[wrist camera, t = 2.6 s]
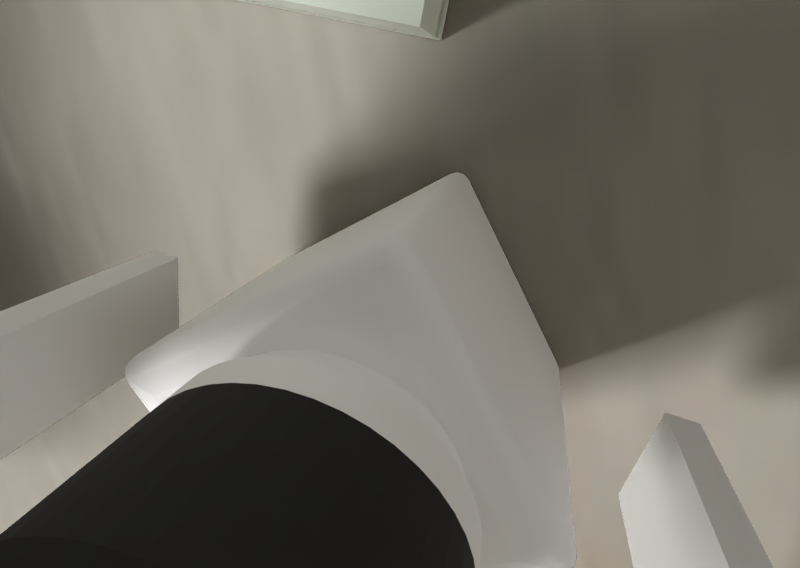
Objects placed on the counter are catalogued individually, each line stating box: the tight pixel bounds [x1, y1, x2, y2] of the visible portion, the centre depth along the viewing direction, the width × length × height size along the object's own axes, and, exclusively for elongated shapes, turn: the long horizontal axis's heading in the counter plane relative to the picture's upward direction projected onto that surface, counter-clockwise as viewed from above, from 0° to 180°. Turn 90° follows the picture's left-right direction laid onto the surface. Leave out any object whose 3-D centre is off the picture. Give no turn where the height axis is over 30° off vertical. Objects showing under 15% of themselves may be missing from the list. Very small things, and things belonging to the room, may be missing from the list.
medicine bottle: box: [0, 172, 577, 568], centre depth 10 cm, size 7×7×12 cm
